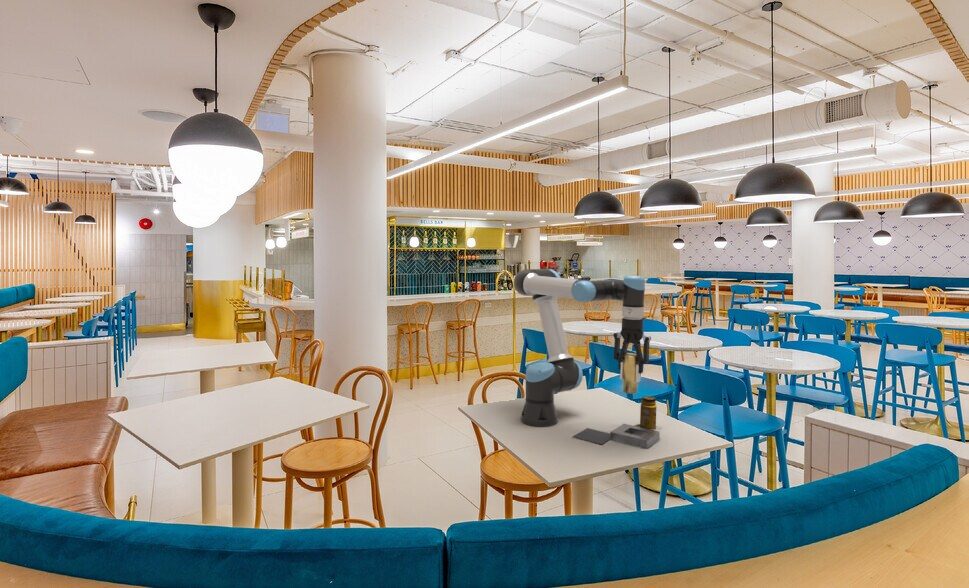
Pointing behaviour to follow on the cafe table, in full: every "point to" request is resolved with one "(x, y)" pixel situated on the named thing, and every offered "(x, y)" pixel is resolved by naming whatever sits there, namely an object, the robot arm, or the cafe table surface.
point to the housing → (635, 436)
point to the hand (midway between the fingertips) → (630, 380)
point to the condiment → (648, 413)
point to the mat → (593, 436)
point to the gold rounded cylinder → (630, 373)
